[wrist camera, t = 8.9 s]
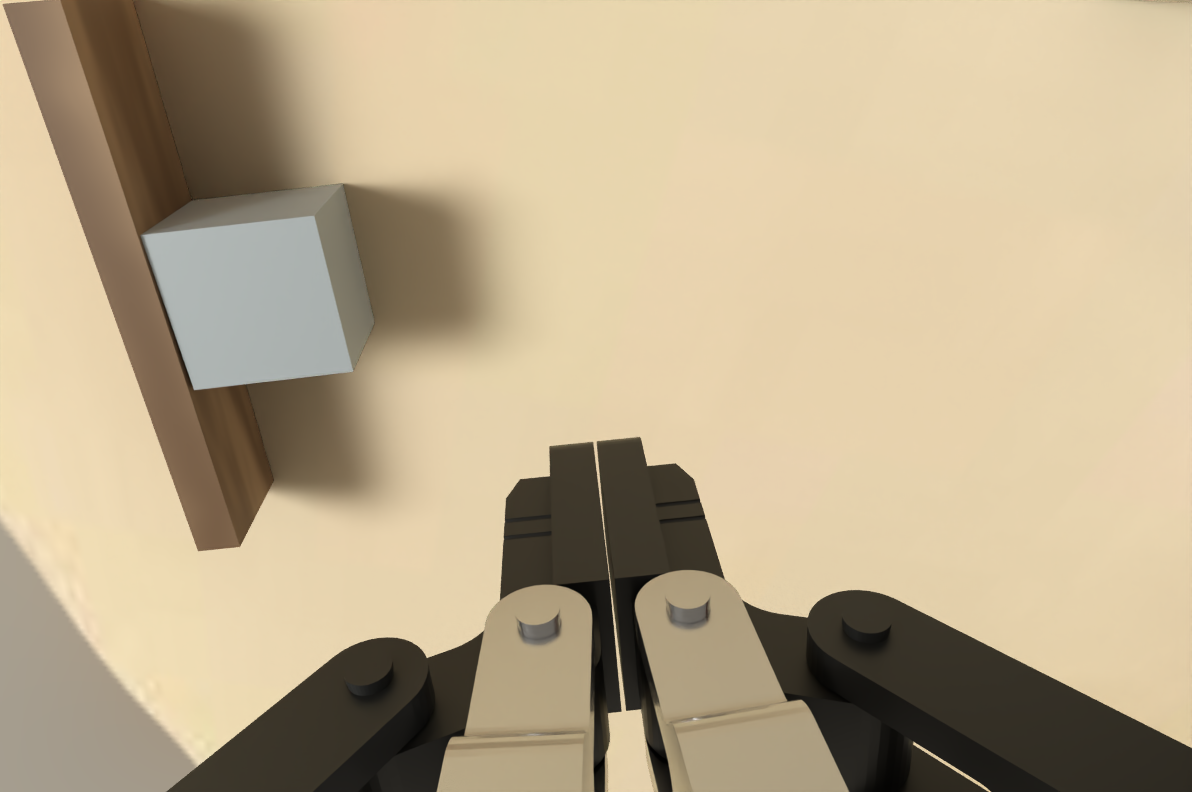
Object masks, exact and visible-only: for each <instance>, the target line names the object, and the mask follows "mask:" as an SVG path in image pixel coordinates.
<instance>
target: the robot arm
mask: <svg viewBox="0 0 1192 792" xmlns="http://www.w3.org/2000/svg"><path fill="white" fill-rule="evenodd" d="M1144 1H1168V2H1188V3H1192V0H1144ZM549 449H550V476H549V477H539V478H529V479H520V480H519V482H518V483H517V484H516V486H515V487H514V489H513V490H512V491H511V493H510V494H509V495H508V497H507V498H506V509H505V526H504V543H503V559H502V576H501V593H500V601H499V602H498V603H497V604H496V605H495V606H494V607H493V608H492V610H491V611H490V613H489V615H488V617H487V620H486V623H485V629H484V631H483V632H482V633H481V634H480V635H478V636H477V637H475V638H474V639H472V640H471V641H469V642H467V643H465V644H463V645H461V646H459V647H457V648H454V649H452V650H449V651H446V652H443V653H440V654H437V655H435V656H432V657H429V658H426V656H425V654H424V652H423V651H422V650H421V649H420V648H419V647H418V646H417V645H415V644H413V643H412V642H409V641H407V640H404V639H399V638H376V639H371V640H367V641H364V642H360V643H358V644H355V645H353V646H351V647H349V648H347V649H345V650H343V651H342V652H340V653H339V654H337V655H336V656H334V657H333V658H332V659H331V660H329V661H328V662H327V663H326V664H324V665H323V666H322V667H321V668H319V669H318V670H317V671H316V672H314V673H313V674H312V675H311V676H309V677H308V678H307V679H306V680H305V681H303V682H302V683H301V684H300V685H298V686H297V687H296V688H295V689H293V690H292V691H291V692H290V693H288V694H287V695H286V696H285V697H283V698H282V699H281V700H280V701H278V702H277V703H276V704H275V705H273V706H272V707H271V708H270V709H268V710H267V711H266V712H265V713H264V714H262V715H261V716H260V717H259V718H257V719H256V720H255V721H254V722H252V723H251V724H250V725H249V726H247V727H246V728H245V729H244V730H242V731H241V732H240V733H239V734H237V735H236V736H235V737H234V738H232V739H231V740H230V741H229V742H228V743H226V744H225V745H224V746H223V747H221V748H220V749H219V750H218V751H216V752H215V753H214V754H213V755H211V756H210V757H209V758H208V759H206V760H205V761H204V762H203V763H201V764H200V765H199V766H198V767H196V768H195V769H194V770H193V771H191V772H190V773H189V774H188V775H187V776H185V777H184V778H183V779H182V780H180V781H179V782H178V783H177V784H175V785H174V786H173V787H172V788H170V789H169V790H168V791H167V792H608V761H607V750H608V746H609V742H610V732H609V721H608V713H613V712H621V701H620V690H619V679H618V668H617V657H616V646H615V636H614V625H613V614H612V603H611V592H610V581H609V572H610V580H611V589H612V597H613V605H614V613H615V622H616V630H617V638H618V647H619V655H620V663H621V671H622V680H623V688H624V696H625V705H626V711H629V710H638V709H641V711H642V718H643V725H644V735H645V748H646V758H647V764H648V769H649V773H650V777H651V782H652V786H653V790H654V792H988V791H986V790H985V789H983V788H981V787H980V786H978V785H977V784H975V783H973V782H972V781H970V780H969V779H967V778H965V777H964V776H962V775H961V774H959V773H957V772H956V771H954V770H953V769H951V768H949V767H948V766H946V765H945V764H943V763H941V762H940V761H938V760H937V759H935V758H933V757H932V756H930V755H929V754H927V753H925V752H924V751H922V750H921V749H919V748H917V747H916V746H914V745H913V741H914V742H915V743H917V744H918V745H920V746H922V747H923V748H925V749H927V750H928V751H930V752H931V753H933V754H935V755H936V756H938V757H939V758H941V759H943V760H944V761H946V762H947V763H949V764H951V765H952V766H954V767H955V768H957V769H959V770H960V771H962V772H964V773H965V774H967V775H968V776H970V777H972V778H973V779H975V780H976V781H978V782H980V783H981V784H982V785H984V786H985V787H986V788H988V789H989V790H990V791H991V792H1192V748H1190V747H1188V746H1186V745H1184V744H1182V743H1180V742H1178V741H1176V740H1174V739H1172V738H1170V737H1168V736H1166V735H1164V734H1162V733H1161V732H1159V731H1157V730H1155V729H1153V728H1151V727H1149V726H1147V725H1145V724H1143V723H1141V722H1139V721H1137V720H1135V719H1133V718H1131V717H1129V716H1127V715H1125V714H1123V713H1121V712H1119V711H1117V710H1115V709H1113V708H1111V707H1109V706H1107V705H1105V704H1103V703H1101V702H1099V701H1097V700H1095V699H1093V698H1091V697H1089V696H1087V695H1085V694H1083V693H1081V692H1079V691H1077V690H1075V689H1073V688H1071V687H1069V686H1067V685H1065V684H1063V683H1061V682H1059V681H1057V680H1055V679H1053V678H1051V677H1049V676H1047V675H1045V674H1043V673H1041V672H1039V671H1037V670H1035V669H1033V668H1031V667H1029V666H1027V665H1025V664H1023V663H1021V662H1019V661H1017V660H1015V659H1013V658H1011V657H1009V656H1007V655H1005V654H1003V653H1002V652H1000V651H998V650H996V649H994V648H992V647H990V646H988V645H986V644H984V643H982V642H980V641H978V640H976V639H974V638H972V637H970V636H968V635H966V634H964V633H962V632H960V631H958V630H956V629H954V628H952V627H950V626H948V625H946V624H944V623H942V622H940V621H938V620H936V619H934V618H932V617H930V616H928V615H926V614H924V613H922V612H920V611H918V610H916V609H914V608H912V607H910V606H908V605H906V604H904V603H902V602H900V601H898V600H896V599H894V598H891V597H889V596H886V595H883V594H880V593H876V592H871V591H862V590H848V591H841V592H837V593H834V594H831V595H828V596H826V597H824V598H823V599H821V600H820V601H818V602H817V603H816V604H815V605H814V606H813V608H812V609H811V611H810V613H809V616H808V618H806V617H798V616H790V615H783V614H777V613H771V612H768V611H764V610H761V609H759V608H756V607H754V606H752V605H750V604H748V603H746V602H744V601H743V600H742V599H741V597H740V595H739V593H738V592H737V590H736V589H735V588H734V587H733V586H732V585H731V584H730V583H729V582H728V581H726V580H725V578H724V575H723V572H722V569H721V566H720V562H719V559H718V556H717V553H716V550H715V546H714V543H713V540H712V537H711V533H710V530H709V527H708V524H707V521H706V519H705V514H704V511H703V508H702V504H701V503H700V498H699V495H698V491H697V488H696V485H695V482H694V479H693V478H692V477H690V476H689V475H688V474H687V473H686V472H685V471H684V470H683V469H681V468H680V467H679V466H678V465H677V464H676V463H675V464H666V465H656V466H647V464H646V459H645V455H644V450H643V446H642V441H641V438H640V437H636V438H626V439H616V440H606V441H597V450H598V462H599V472H600V483H601V494H602V505H603V516H604V527H605V537H606V546H607V555H608V564H609V572H608V564H607V555H606V547H605V539H604V530H603V522H602V513H601V505H600V497H599V488H598V480H597V471H596V463H595V454H594V446H593V442H587V443H578V444H568V445H558V446H550V448H549Z"/></svg>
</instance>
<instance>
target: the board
mask: <svg viewBox="0 0 1192 792" xmlns="http://www.w3.org/2000/svg"><path fill="white" fill-rule="evenodd" d="M3 7H4V9H5V12H6V15H7V18H8V21H9V23H10V26H11V29H12V32H13V34H14V37H15V40H16V43H17V46H18V48H19V51H20V54H21V57H22V60H23V62H24V65H25V68H26V71H27V74H28V76H29V79H30V82H31V85H32V88H33V90H34V93H35V96H36V99H37V102H38V104H39V107H40V110H41V113H42V116H43V118H44V121H45V124H46V127H47V130H48V132H49V135H50V138H51V141H52V144H53V146H54V149H55V152H56V155H57V158H58V160H59V163H60V166H61V169H62V172H63V174H64V177H65V180H66V183H67V186H68V188H69V191H70V194H71V197H72V200H73V202H74V205H75V208H76V211H77V214H78V216H79V219H80V222H81V225H82V227H83V230H84V233H85V236H86V239H87V241H88V244H89V247H90V250H91V253H92V255H93V258H94V261H95V264H96V267H97V269H98V272H99V275H100V278H101V281H102V283H103V286H104V289H105V292H106V295H107V297H108V300H109V303H110V306H111V309H112V311H113V314H114V317H115V320H116V323H117V325H118V328H119V331H120V334H121V337H122V339H123V342H124V345H125V348H126V351H127V353H128V356H129V359H130V362H131V365H132V367H133V370H134V373H135V376H136V379H137V381H138V384H139V387H140V390H141V393H142V395H143V398H144V401H145V404H146V406H147V409H148V412H149V415H150V418H151V420H152V423H153V426H154V429H155V432H156V434H157V437H158V440H159V443H160V446H161V448H162V451H163V454H164V457H165V460H166V462H167V465H168V468H169V471H170V474H171V476H172V479H173V482H174V485H175V488H176V490H177V493H178V496H179V499H180V502H181V504H182V507H183V510H184V513H185V516H186V518H187V521H188V524H189V527H190V530H191V532H192V535H193V538H194V541H195V544H196V546H197V549H198V551H204V550H214V549H223V548H233V547H240V546H241V544H242V542H243V540H244V538H245V536H246V534H247V532H248V530H249V528H250V526H251V524H252V522H253V520H254V518H255V516H256V514H257V512H258V510H259V508H260V506H261V504H262V502H263V500H264V499H265V497H266V495H267V493H268V491H269V489H270V487H271V485H272V483H273V481H274V479H273V476H272V473H271V469H270V466H269V462H268V459H267V456H266V452H265V449H264V445H263V442H262V439H261V435H260V432H259V428H258V425H257V422H256V418H255V415H254V411H253V408H252V405H251V401H250V398H249V394H248V391H247V388H246V384H243V385H234V386H226V387H217V388H209V389H200V390H194V388H193V386H192V383H191V380H190V377H189V374H188V371H187V368H186V365H185V363H184V360H183V357H182V354H181V351H180V348H179V345H178V342H177V340H176V337H175V334H174V331H173V328H172V325H171V322H170V319H169V317H168V314H167V311H166V308H165V305H164V302H163V299H162V296H161V294H160V291H159V288H158V285H157V282H156V279H155V276H154V274H153V271H152V268H151V265H150V262H149V259H148V256H147V253H146V251H145V248H144V245H143V242H142V239H141V236H140V235H141V234H143V233H144V232H146V231H147V230H149V229H150V228H152V227H153V226H155V225H156V224H158V223H159V222H161V221H162V220H164V219H165V218H167V217H168V216H170V215H171V214H173V213H174V212H176V211H177V210H179V209H180V208H182V207H183V206H185V205H186V204H187V203H189V202H190V201H192V200H191V197H190V194H189V190H188V187H187V183H186V180H185V176H184V173H183V170H182V166H181V163H180V159H179V156H178V153H177V149H176V146H175V142H174V139H173V136H172V132H171V129H170V125H169V122H168V119H167V115H166V112H165V108H164V105H163V102H162V98H161V95H160V91H159V88H158V85H157V81H156V78H155V74H154V71H153V68H152V64H151V61H150V57H149V54H148V51H147V47H146V44H145V40H144V37H143V34H142V30H141V27H140V23H139V20H138V17H137V13H136V10H135V6H134V3H133V0H44V1H33V2H21V3H9V4H3Z"/></svg>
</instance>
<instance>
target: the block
mask: <svg viewBox="0 0 1192 792" xmlns="http://www.w3.org/2000/svg"><path fill="white" fill-rule="evenodd" d="M140 236H141V239H142V242H143V245H144V248H145V251H146V253H147V256H148V259H149V262H150V265H151V268H152V271H153V274H154V276H155V279H156V282H157V285H158V288H159V291H160V294H161V296H162V299H163V302H164V305H165V308H166V311H167V314H168V317H169V319H170V322H171V325H172V328H173V331H174V334H175V337H176V340H177V342H178V345H179V348H180V351H181V354H182V357H183V360H184V363H185V365H186V368H187V371H188V374H189V377H190V380H191V383H192V386H193V388H194V390H200V389H209V388H217V387H226V386H234V385H243V384H252V383H260V382H269V381H277V380H286V379H295V378H303V377H312V376H320V375H329V374H337V373H346V372H353V371H354V369H355V366H356V364H357V362H358V360H359V357H360V355H361V353H362V350H363V348H364V346H365V344H366V341H367V339H368V337H369V335H370V332H371V330H372V328H373V326H374V323H375V321H374V317H373V312H372V308H371V304H370V299H369V295H368V291H367V286H366V282H365V278H364V273H363V269H362V265H361V260H360V256H359V252H358V247H357V243H356V239H355V234H354V230H353V226H352V221H351V217H350V213H349V208H348V204H347V199H346V195H345V191H344V186H343V183H342V184H334V185H325V186H316V187H307V188H298V189H289V190H280V191H271V192H262V193H253V194H244V195H235V196H226V197H217V198H208V199H199V200H192V201H190V202H189V203H187V204H186V205H185V206H183V207H182V208H180V209H179V210H177V211H176V212H174V213H173V214H171V215H170V216H168V217H167V218H165V219H164V220H162V221H161V222H159V223H158V224H156V225H155V226H153V227H152V228H150V229H149V230H147V231H146V232H144V233H143V234H141V235H140Z"/></svg>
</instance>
